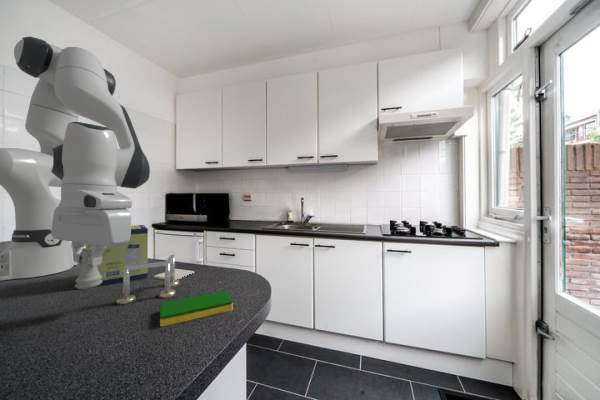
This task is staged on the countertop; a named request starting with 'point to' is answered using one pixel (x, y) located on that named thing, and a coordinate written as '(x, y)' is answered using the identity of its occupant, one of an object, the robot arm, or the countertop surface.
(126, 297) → the angled post rail
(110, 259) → the protein box
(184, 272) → the coaster pad
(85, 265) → the rook chess piece
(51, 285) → the countertop surface
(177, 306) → the dish sponge
